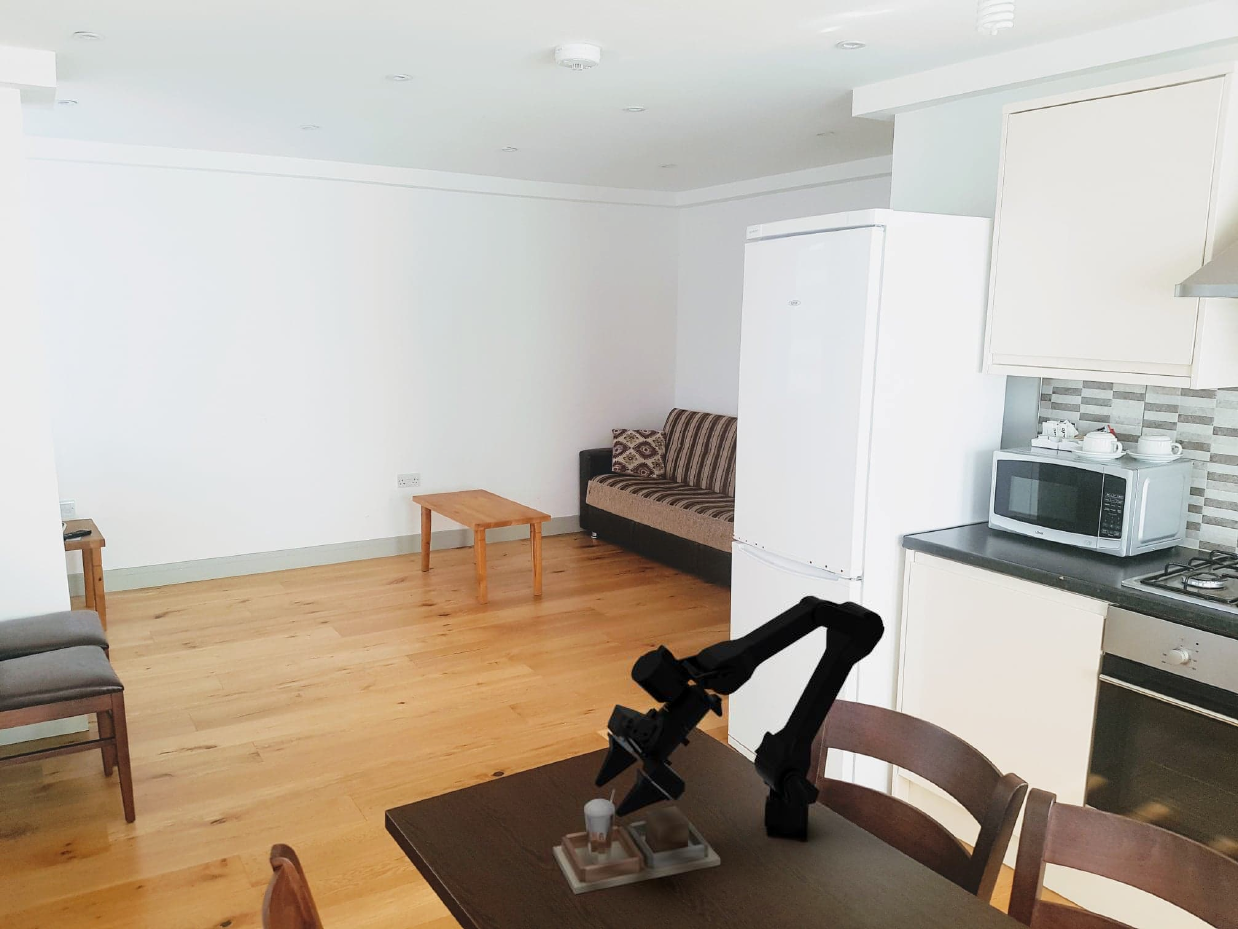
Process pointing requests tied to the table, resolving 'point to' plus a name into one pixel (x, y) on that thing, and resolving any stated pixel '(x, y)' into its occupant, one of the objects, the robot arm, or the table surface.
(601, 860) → the milkshake
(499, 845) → the table surface
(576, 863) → the grey-brown divided tray
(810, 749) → the robot arm
